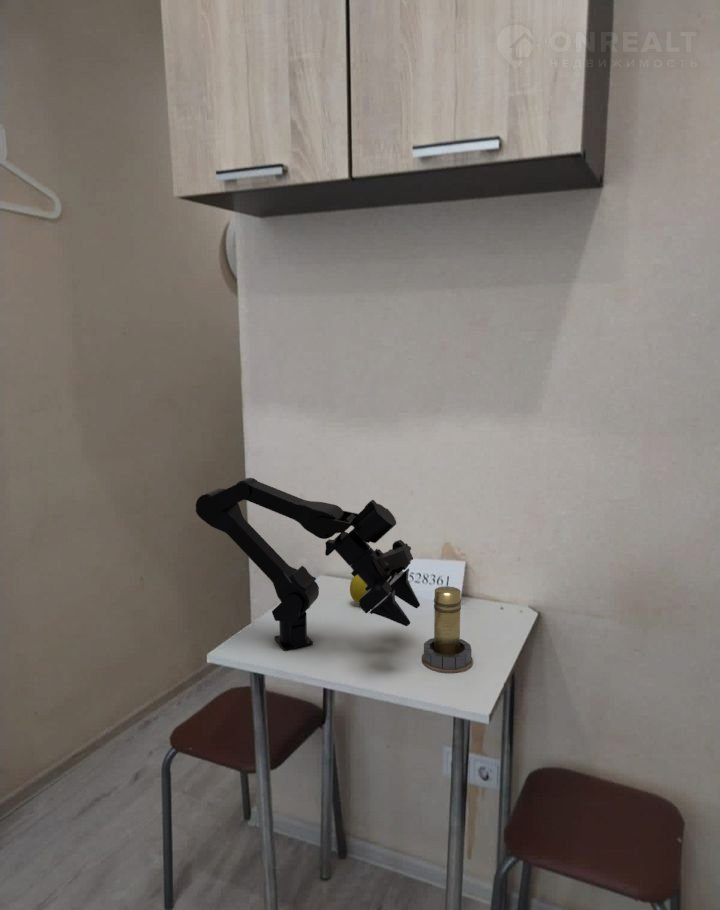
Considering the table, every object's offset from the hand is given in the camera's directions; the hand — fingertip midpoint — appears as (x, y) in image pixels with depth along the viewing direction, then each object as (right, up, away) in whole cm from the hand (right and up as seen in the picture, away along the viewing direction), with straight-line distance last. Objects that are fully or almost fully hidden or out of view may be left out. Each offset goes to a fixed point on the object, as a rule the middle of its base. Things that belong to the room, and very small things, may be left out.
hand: (413, 615), depth 132 cm
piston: (+6, -8, -1) cm, 11 cm away
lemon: (-10, -5, +29) cm, 31 cm away
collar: (+7, -9, 0) cm, 11 cm away
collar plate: (+7, -9, 0) cm, 11 cm away
